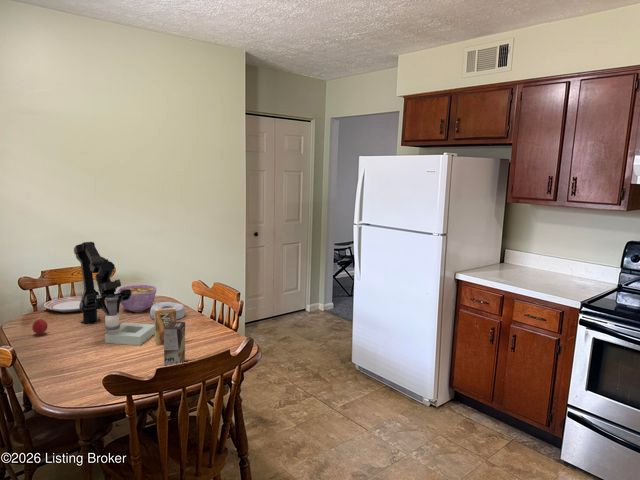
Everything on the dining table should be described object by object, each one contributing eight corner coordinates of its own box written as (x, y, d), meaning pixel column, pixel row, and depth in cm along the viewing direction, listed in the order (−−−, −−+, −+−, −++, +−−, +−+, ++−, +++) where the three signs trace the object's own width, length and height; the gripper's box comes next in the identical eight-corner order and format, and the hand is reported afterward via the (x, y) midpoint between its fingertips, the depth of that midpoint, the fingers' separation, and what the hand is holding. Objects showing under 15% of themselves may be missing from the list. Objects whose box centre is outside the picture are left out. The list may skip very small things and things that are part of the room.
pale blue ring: (151, 312, 240) (151, 301, 240) (185, 310, 245) (185, 300, 244) (148, 322, 224) (148, 311, 223) (184, 321, 229) (184, 309, 228)
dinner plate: (50, 302, 250) (50, 296, 250) (103, 299, 260) (103, 293, 259) (38, 317, 225) (38, 310, 224) (98, 313, 235) (98, 307, 234)
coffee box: (180, 368, 173) (180, 329, 171) (163, 368, 173) (163, 328, 170) (185, 358, 182) (185, 321, 180) (169, 358, 182) (169, 321, 179)
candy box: (175, 339, 203) (174, 307, 201) (176, 342, 199) (176, 309, 197) (154, 341, 199) (154, 308, 197) (155, 344, 195) (155, 311, 193)
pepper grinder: (106, 326, 197) (105, 295, 195) (120, 325, 199) (120, 295, 197) (103, 330, 192) (103, 299, 190) (118, 329, 194) (118, 298, 192)
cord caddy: (123, 330, 211) (123, 322, 210) (155, 332, 210) (155, 324, 209) (104, 342, 195) (104, 334, 194) (139, 345, 194) (139, 336, 193)
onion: (40, 337, 198) (39, 320, 197) (29, 336, 199) (28, 319, 198) (50, 333, 203) (50, 316, 202) (40, 331, 204) (39, 315, 203)
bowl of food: (123, 304, 251) (122, 284, 249) (159, 304, 254) (159, 284, 253) (113, 315, 231) (112, 294, 230) (153, 315, 235) (153, 294, 233)
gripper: (85, 276, 189) (93, 307, 182) (130, 271, 201) (139, 300, 195) (80, 290, 196) (88, 320, 189) (124, 284, 208) (133, 313, 202)
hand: (113, 313), depth 193 cm, fingers closed on pepper grinder, 4 cm apart
